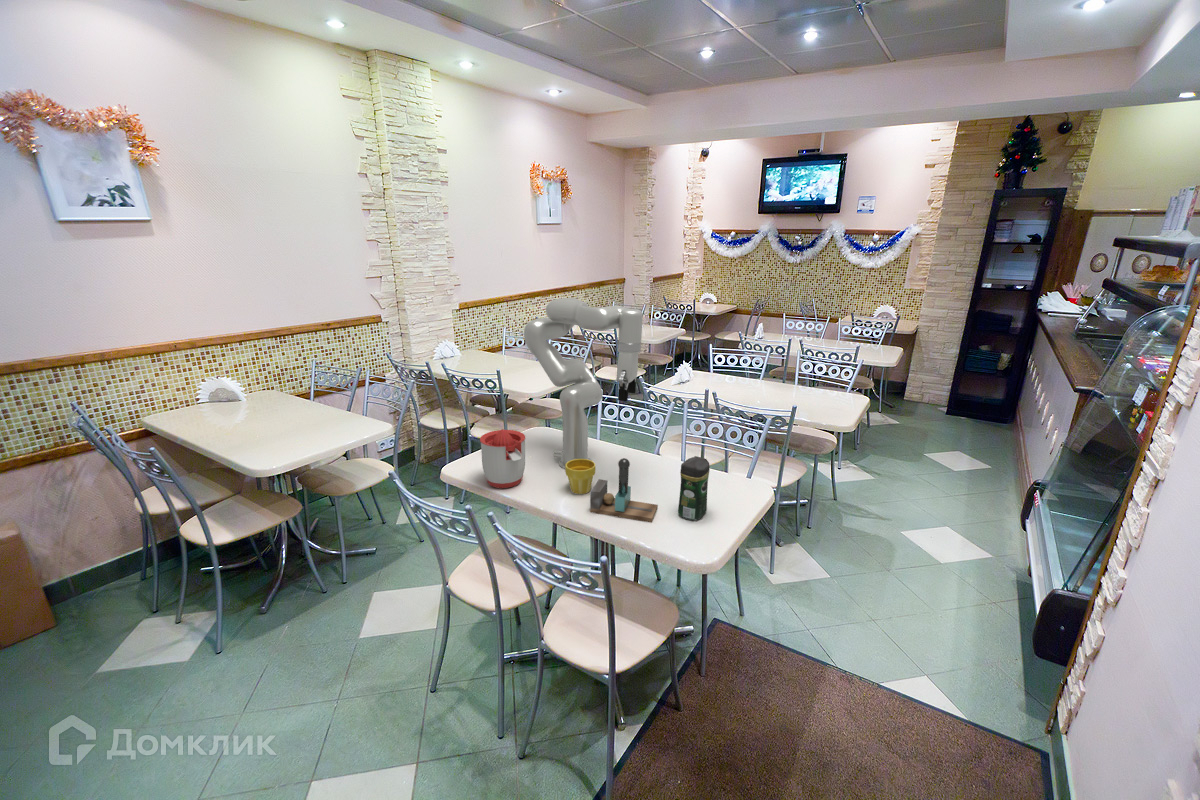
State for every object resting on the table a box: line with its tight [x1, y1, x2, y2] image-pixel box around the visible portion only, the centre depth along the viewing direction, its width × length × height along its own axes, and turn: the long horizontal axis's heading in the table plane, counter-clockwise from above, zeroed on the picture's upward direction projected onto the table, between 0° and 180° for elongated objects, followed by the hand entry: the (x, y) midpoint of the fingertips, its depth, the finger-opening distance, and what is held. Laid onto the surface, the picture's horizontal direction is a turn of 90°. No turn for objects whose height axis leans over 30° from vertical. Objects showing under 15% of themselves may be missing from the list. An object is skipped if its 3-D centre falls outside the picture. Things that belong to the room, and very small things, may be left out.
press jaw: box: [614, 458, 632, 512], centre depth 162 cm, size 4×8×16 cm, turn 163°
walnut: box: [603, 492, 615, 504], centre depth 166 cm, size 4×4×4 cm
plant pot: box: [564, 459, 596, 495], centre depth 177 cm, size 10×10×10 cm
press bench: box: [589, 478, 659, 523], centre depth 164 cm, size 20×9×8 cm, turn 73°
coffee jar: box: [677, 455, 710, 521], centre depth 161 cm, size 10×8×19 cm
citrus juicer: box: [479, 428, 526, 490], centre depth 180 cm, size 16×17×20 cm
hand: (626, 396), depth 175 cm, fingers open, 9 cm apart
